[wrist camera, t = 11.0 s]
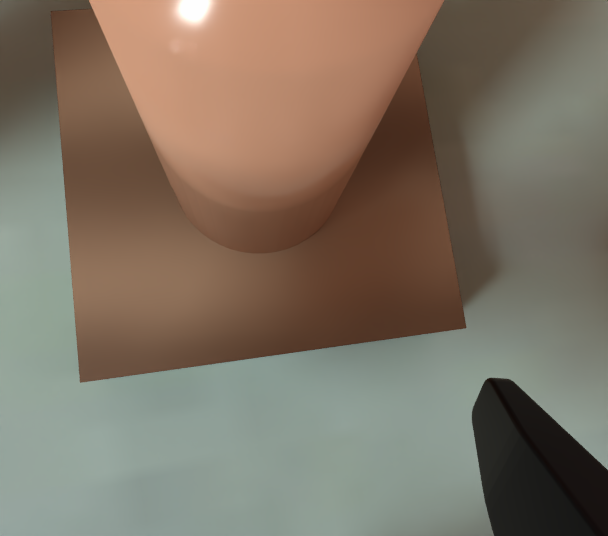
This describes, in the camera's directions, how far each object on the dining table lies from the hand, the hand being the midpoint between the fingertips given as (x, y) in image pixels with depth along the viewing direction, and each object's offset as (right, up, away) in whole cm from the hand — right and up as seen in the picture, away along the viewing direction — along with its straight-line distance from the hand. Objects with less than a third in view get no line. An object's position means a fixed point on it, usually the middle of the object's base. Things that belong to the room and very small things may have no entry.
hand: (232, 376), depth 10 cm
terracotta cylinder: (0, +5, +8) cm, 10 cm away
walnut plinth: (-1, +5, +11) cm, 12 cm away
